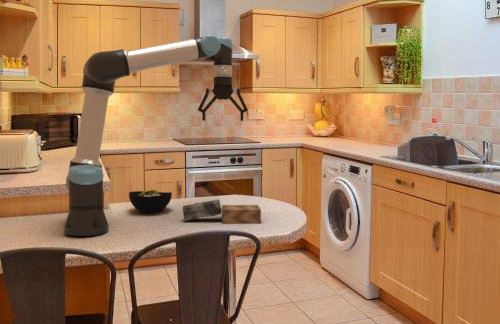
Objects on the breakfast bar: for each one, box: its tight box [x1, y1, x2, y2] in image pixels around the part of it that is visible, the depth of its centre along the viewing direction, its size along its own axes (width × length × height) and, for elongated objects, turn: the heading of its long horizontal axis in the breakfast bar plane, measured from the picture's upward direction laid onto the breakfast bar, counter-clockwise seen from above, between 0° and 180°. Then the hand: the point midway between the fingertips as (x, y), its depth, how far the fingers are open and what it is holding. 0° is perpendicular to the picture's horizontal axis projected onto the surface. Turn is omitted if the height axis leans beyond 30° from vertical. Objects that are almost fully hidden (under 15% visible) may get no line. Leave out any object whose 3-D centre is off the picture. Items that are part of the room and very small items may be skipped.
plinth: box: [221, 204, 262, 225], centre depth 206 cm, size 14×14×5 cm
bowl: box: [128, 189, 173, 215], centre depth 221 cm, size 17×17×10 cm
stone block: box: [182, 199, 222, 223], centre depth 205 cm, size 9×14×5 cm, turn 94°
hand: (222, 129), depth 222 cm, fingers open, 13 cm apart
